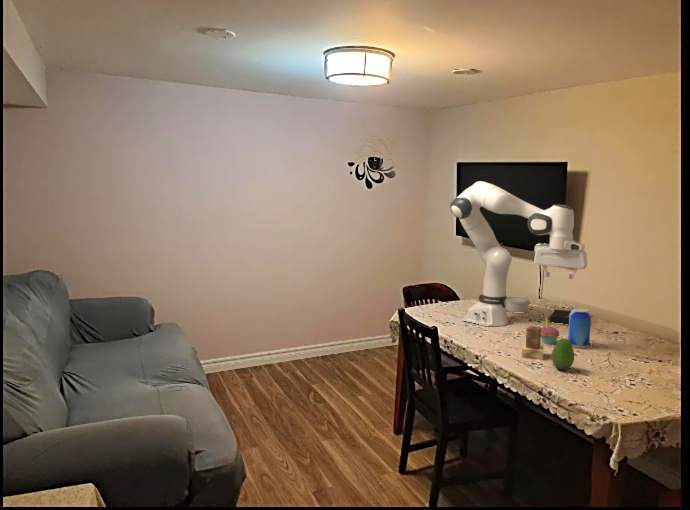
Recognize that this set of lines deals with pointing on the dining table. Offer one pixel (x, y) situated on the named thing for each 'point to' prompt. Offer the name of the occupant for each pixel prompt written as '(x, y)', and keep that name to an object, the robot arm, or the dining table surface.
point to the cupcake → (549, 334)
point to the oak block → (532, 352)
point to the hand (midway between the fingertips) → (559, 277)
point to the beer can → (579, 327)
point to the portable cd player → (560, 316)
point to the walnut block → (533, 337)
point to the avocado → (563, 354)
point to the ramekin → (517, 304)
